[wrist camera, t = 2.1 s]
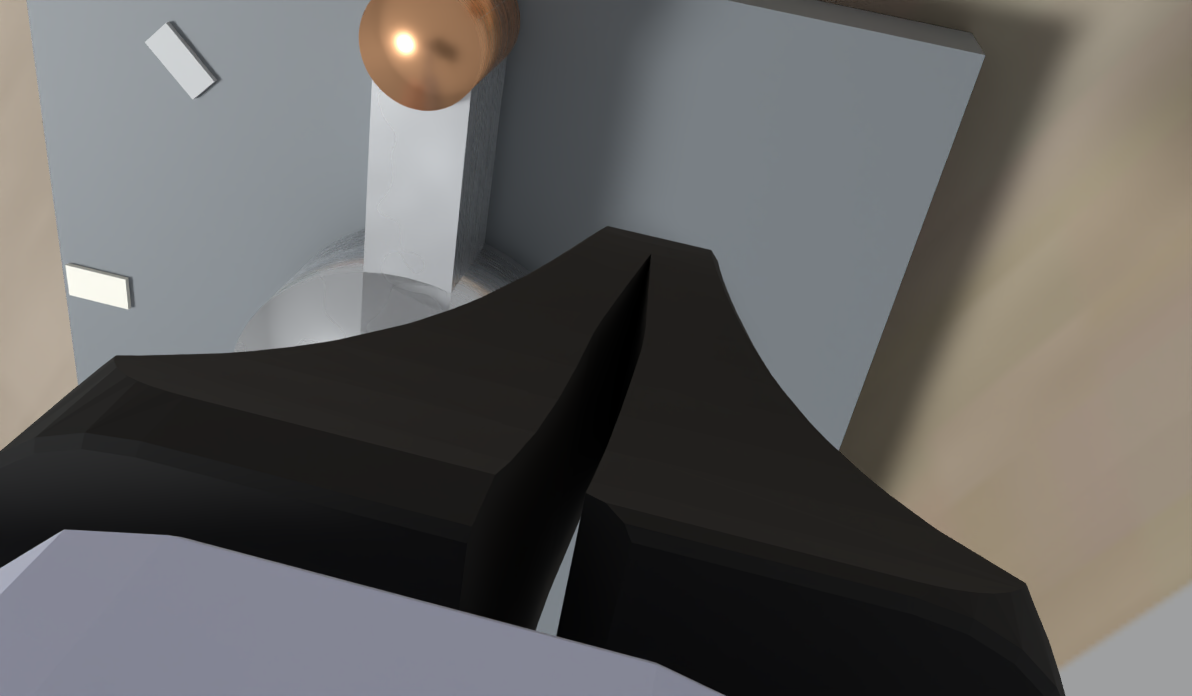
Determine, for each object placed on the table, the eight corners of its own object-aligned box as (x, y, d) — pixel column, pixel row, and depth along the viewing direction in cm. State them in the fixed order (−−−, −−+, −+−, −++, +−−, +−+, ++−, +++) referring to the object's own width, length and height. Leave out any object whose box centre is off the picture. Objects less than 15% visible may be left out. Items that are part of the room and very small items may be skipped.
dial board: (739, 679, 25) (735, 732, 23) (136, 520, 26) (99, 562, 24) (971, 32, 16) (986, 56, 15) (64, -159, 17) (1, -153, 16)
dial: (565, 536, 21) (541, 611, 19) (279, 462, 21) (228, 529, 20) (671, -1, 15) (652, 31, 13) (275, -86, 16) (203, -66, 14)
